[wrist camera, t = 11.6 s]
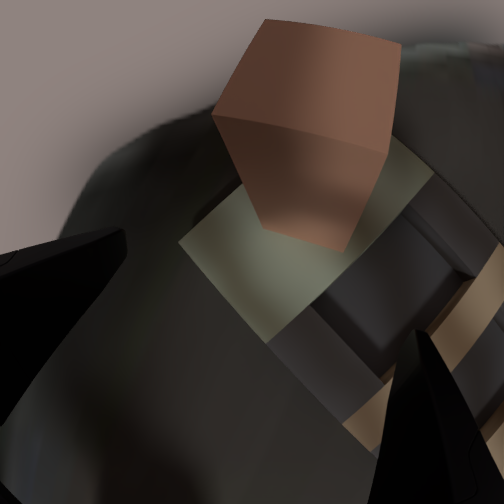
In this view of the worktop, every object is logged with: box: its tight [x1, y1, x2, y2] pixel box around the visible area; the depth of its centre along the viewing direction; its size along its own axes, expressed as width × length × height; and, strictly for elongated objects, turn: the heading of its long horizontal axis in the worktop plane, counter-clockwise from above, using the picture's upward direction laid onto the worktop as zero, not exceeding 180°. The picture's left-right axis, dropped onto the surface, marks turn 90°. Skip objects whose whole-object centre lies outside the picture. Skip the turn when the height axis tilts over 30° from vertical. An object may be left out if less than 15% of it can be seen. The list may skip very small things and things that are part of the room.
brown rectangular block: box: [211, 19, 401, 253], centre depth 12 cm, size 4×4×10 cm
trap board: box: [178, 135, 504, 479], centre depth 15 cm, size 14×30×2 cm, turn 42°
